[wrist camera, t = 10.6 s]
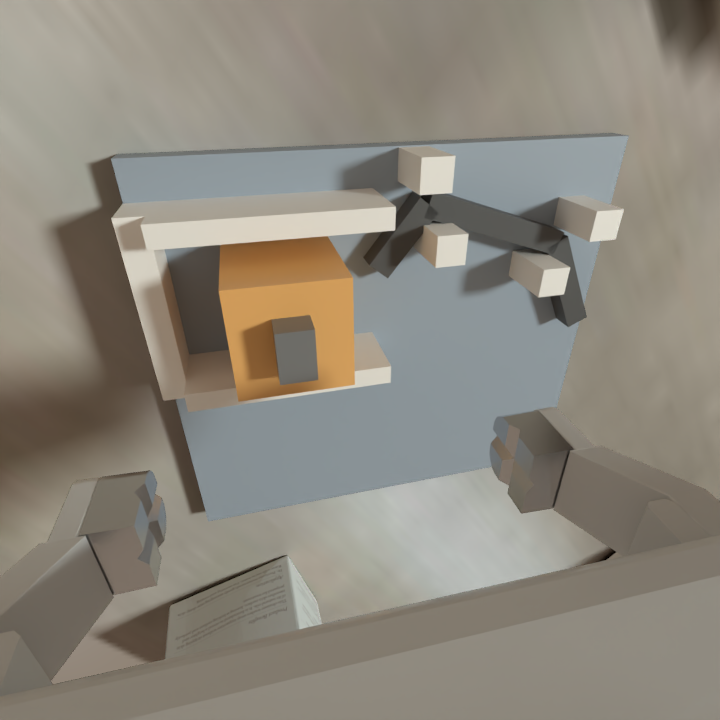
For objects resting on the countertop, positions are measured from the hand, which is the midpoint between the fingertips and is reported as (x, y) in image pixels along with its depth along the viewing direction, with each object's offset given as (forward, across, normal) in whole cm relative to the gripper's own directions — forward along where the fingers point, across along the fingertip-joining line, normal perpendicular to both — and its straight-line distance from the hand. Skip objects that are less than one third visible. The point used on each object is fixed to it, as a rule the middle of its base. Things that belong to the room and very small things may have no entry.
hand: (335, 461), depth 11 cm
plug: (+10, -1, +1) cm, 10 cm away
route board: (+11, +4, -3) cm, 12 cm away
